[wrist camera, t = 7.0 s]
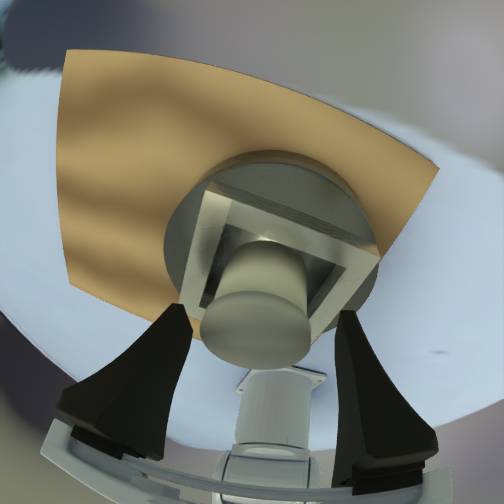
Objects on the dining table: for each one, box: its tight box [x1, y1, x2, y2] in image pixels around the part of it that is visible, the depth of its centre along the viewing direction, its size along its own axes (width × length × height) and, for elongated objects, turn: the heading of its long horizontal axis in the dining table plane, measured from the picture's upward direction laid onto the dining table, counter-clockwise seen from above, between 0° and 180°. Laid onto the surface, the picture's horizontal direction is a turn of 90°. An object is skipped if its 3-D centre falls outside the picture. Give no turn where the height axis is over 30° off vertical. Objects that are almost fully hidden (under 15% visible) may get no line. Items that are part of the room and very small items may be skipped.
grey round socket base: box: [163, 150, 381, 344], centre depth 16 cm, size 12×12×4 cm
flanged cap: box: [200, 240, 311, 370], centre depth 13 cm, size 5×5×4 cm
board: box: [56, 49, 440, 367], centre depth 19 cm, size 22×24×1 cm
